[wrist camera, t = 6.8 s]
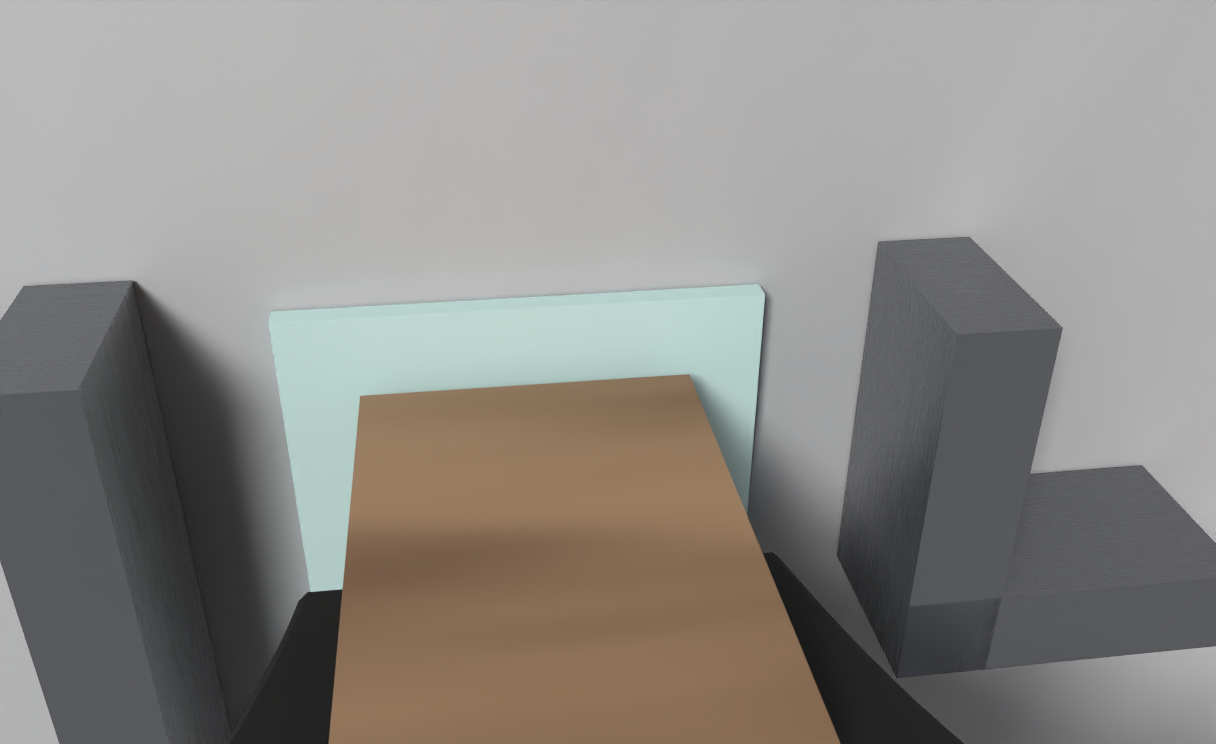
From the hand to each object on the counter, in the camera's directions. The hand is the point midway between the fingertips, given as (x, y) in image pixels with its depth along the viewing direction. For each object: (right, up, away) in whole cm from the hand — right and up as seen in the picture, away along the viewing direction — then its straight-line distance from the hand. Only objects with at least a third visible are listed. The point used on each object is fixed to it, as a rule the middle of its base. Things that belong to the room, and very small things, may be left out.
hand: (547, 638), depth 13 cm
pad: (0, +1, +2) cm, 3 cm away
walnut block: (0, +1, +2) cm, 2 cm away
